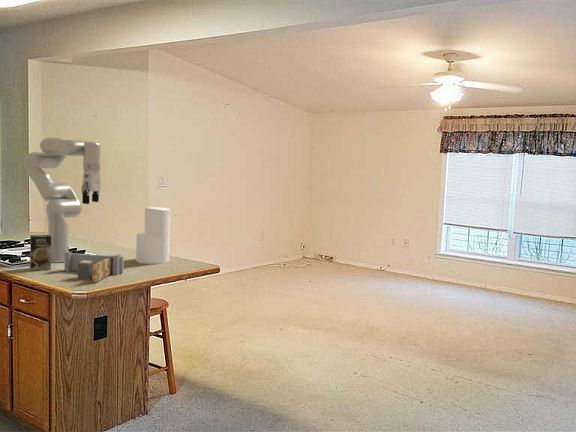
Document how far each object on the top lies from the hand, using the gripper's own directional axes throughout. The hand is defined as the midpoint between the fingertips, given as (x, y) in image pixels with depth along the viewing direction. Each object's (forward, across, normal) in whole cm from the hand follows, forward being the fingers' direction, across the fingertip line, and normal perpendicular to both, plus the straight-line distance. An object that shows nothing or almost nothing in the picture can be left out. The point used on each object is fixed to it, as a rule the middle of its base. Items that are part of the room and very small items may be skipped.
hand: (90, 202), depth 269 cm
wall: (+32, -9, -7) cm, 34 cm away
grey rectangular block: (+32, -21, -9) cm, 39 cm away
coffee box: (+33, -10, +19) cm, 39 cm away
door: (+31, -20, -16) cm, 40 cm away
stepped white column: (+32, +27, -23) cm, 48 cm away
